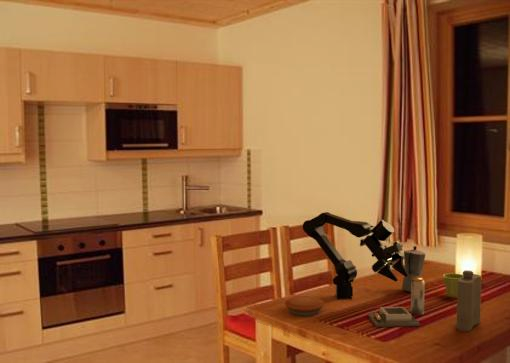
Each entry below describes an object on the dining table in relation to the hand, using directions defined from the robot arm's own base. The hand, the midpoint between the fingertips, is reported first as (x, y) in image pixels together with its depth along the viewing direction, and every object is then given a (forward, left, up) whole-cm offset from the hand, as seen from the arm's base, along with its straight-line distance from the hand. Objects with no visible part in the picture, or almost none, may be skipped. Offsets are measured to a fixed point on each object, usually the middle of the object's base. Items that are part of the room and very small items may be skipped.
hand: (402, 278), depth 216 cm
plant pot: (+28, +18, -13) cm, 35 cm away
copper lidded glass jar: (+5, -4, -13) cm, 14 cm away
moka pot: (+12, +26, -13) cm, 31 cm away
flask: (+19, -19, -13) cm, 30 cm away
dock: (-7, -13, -13) cm, 20 cm away
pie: (-39, 0, -13) cm, 41 cm away
